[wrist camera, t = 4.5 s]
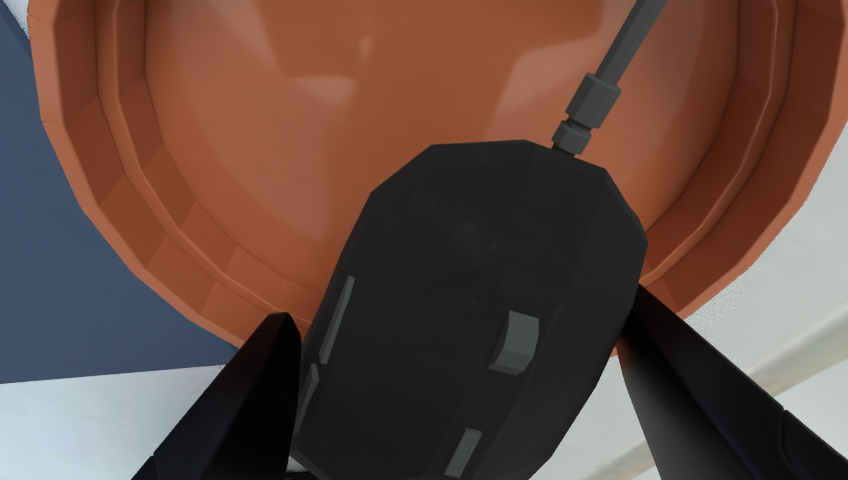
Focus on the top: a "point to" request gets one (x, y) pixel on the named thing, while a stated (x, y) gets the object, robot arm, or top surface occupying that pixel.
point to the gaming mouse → (474, 303)
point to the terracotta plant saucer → (420, 127)
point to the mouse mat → (69, 262)
